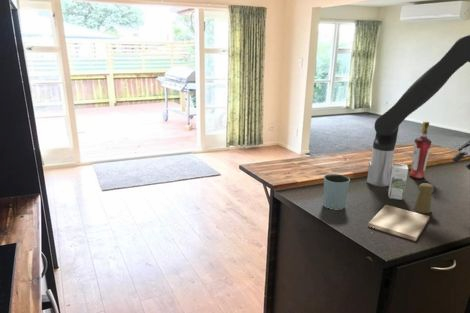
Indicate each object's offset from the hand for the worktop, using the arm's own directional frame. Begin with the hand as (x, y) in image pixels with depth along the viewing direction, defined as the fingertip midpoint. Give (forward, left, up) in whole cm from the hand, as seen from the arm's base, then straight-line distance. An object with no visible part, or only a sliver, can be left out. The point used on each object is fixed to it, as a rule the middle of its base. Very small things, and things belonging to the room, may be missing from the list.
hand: (460, 164), depth 140 cm
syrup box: (-21, -1, -19) cm, 29 cm away
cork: (-9, -7, -19) cm, 23 cm away
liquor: (-20, +32, -19) cm, 42 cm away
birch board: (-13, -25, -19) cm, 34 cm away
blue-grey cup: (-38, -26, -19) cm, 50 cm away
